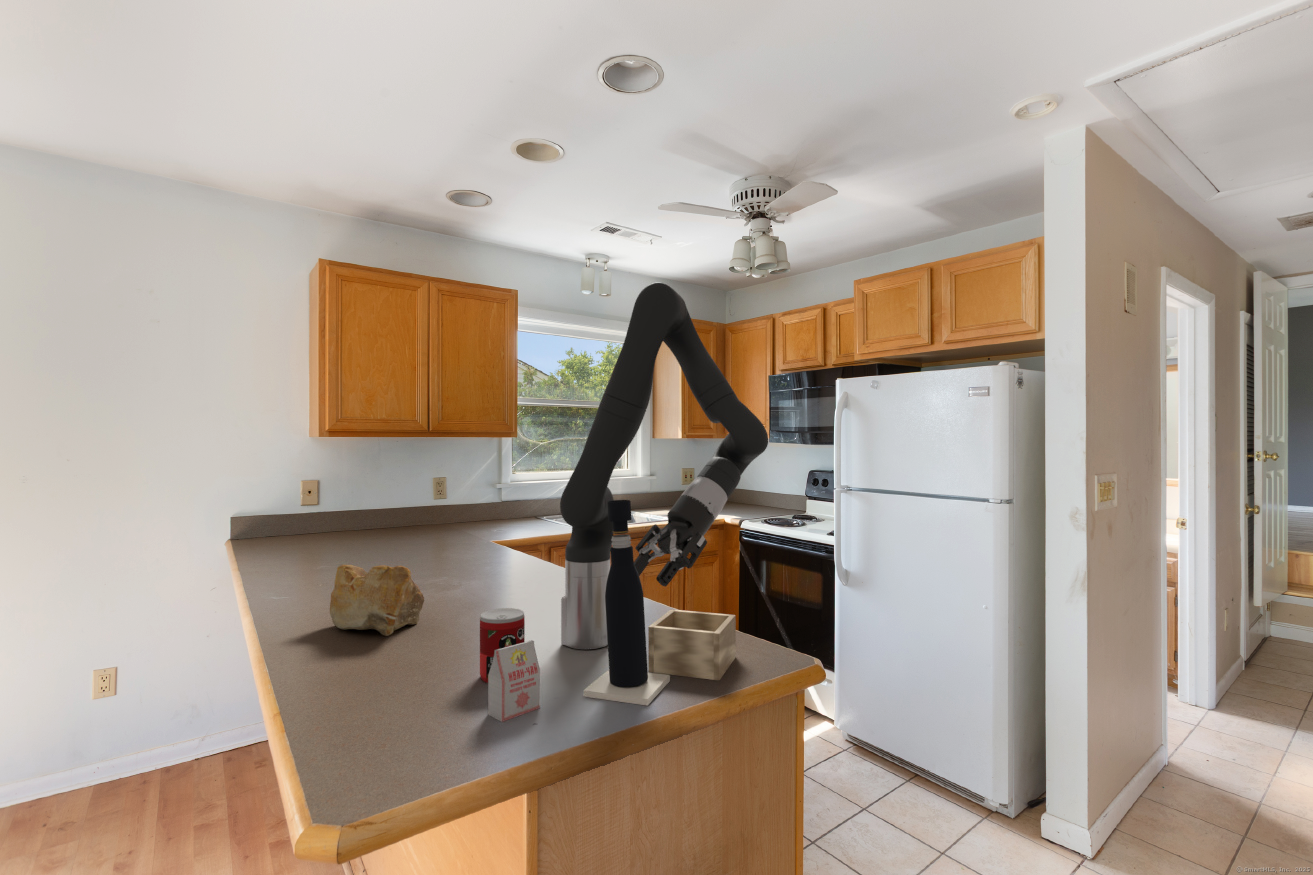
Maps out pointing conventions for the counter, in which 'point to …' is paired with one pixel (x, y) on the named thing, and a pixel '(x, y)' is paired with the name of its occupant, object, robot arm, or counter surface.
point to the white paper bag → (514, 681)
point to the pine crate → (692, 644)
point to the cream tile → (627, 689)
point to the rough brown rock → (375, 598)
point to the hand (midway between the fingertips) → (646, 578)
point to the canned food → (499, 634)
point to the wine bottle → (624, 606)
